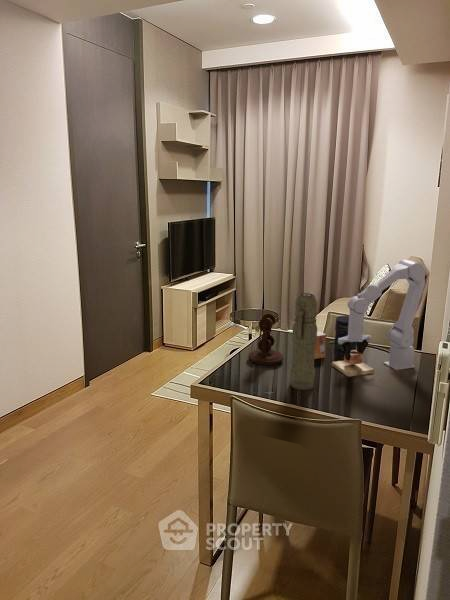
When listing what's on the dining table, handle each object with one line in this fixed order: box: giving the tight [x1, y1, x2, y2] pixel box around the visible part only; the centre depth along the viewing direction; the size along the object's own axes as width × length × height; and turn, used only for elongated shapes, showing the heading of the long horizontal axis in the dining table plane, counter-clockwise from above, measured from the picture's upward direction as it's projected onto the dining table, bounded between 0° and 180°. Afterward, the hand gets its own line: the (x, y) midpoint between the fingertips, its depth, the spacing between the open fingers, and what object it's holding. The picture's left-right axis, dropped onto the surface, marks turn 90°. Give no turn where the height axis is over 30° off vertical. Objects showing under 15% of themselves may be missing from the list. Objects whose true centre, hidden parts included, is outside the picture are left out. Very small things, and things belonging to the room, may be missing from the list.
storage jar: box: [333, 315, 357, 355], centre depth 209 cm, size 10×10×15 cm
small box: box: [314, 330, 327, 360], centre depth 202 cm, size 8×6×10 cm
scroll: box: [248, 313, 284, 368], centre depth 196 cm, size 15×15×20 cm
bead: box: [343, 349, 364, 365], centre depth 189 cm, size 5×5×4 cm
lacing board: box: [331, 360, 375, 378], centre depth 190 cm, size 12×12×6 cm
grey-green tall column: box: [289, 292, 318, 391], centre depth 171 cm, size 9×12×35 cm
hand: (353, 358), depth 189 cm, fingers closed on bead, 5 cm apart
